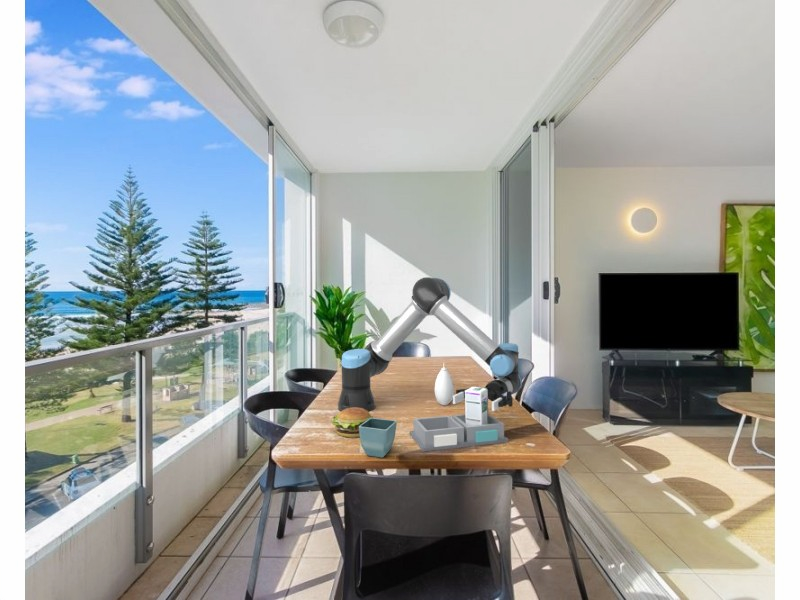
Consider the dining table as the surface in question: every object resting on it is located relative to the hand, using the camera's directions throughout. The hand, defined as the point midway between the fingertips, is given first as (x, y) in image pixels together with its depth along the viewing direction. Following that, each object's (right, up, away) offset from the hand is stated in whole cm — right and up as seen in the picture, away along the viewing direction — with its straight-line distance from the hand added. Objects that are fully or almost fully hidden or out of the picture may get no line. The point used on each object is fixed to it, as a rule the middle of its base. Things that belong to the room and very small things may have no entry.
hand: (472, 403), depth 126 cm
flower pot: (-30, -12, -10) cm, 34 cm away
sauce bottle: (-5, -11, +39) cm, 41 cm away
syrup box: (+2, -11, +3) cm, 11 cm away
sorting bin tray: (-5, -12, +1) cm, 12 cm away
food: (-39, -12, +8) cm, 42 cm away
